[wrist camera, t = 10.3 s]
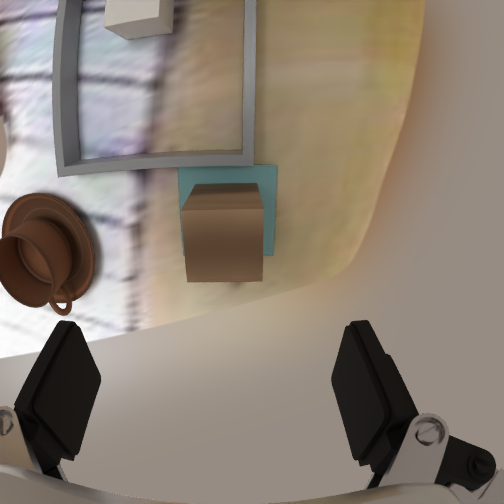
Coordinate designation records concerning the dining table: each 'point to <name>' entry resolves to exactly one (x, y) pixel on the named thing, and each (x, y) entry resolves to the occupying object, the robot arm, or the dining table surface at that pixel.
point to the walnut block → (223, 233)
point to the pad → (235, 174)
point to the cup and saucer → (45, 253)
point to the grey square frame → (73, 165)
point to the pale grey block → (139, 17)
